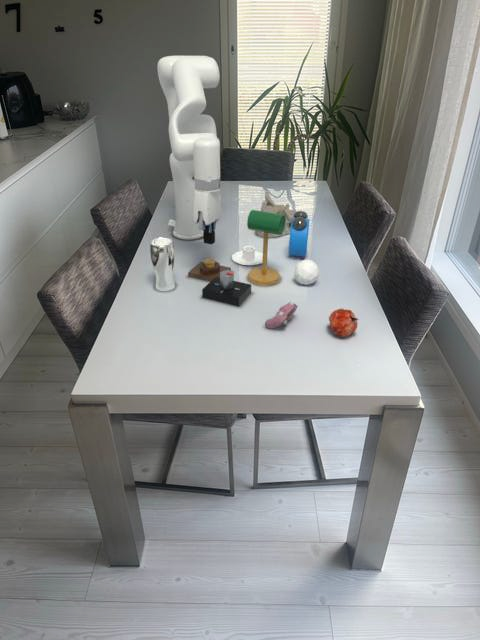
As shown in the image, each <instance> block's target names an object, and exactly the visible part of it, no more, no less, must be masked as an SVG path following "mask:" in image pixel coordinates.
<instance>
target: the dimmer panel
mask: <svg viewBox="0 0 480 640" xmlns="http://www.w3.org/2000/svg"><path fill="white" fill-rule="evenodd" d="M251 294H252V284H251V283H246V282H242V281H237V280H234V287H233V288H232V289H230V290H224V289H221V287H220V277H215V278H214V279H213V280H212V281H211V282H208V283H207V284H206V285H205V286H204V287H203V288H201V295H202V297H201V298H202V299H205V300H210V301H214V302H218V303H222V304H226V305H231V306H234V307H240V306H241V305H242V304H243V303H244V302H245V301H246V300H247V298H248V297H249V296H250V295H251Z"/></svg>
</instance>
